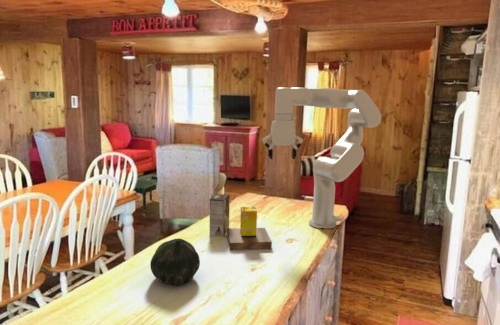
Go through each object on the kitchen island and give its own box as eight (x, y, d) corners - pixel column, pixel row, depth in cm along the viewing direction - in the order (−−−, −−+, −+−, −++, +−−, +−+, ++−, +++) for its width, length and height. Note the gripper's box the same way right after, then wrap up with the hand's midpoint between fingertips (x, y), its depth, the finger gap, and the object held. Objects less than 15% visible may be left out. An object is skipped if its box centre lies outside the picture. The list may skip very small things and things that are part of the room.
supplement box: (240, 232, 159) (240, 206, 157) (254, 232, 160) (255, 206, 158) (241, 237, 153) (241, 210, 151) (256, 237, 154) (257, 210, 152)
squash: (160, 250, 133) (153, 228, 122) (204, 253, 133) (200, 232, 121) (151, 291, 124) (142, 272, 113) (197, 294, 124) (193, 276, 112)
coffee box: (215, 228, 171) (215, 193, 169) (229, 230, 170) (230, 194, 167) (209, 236, 163) (209, 198, 160) (223, 237, 161) (224, 199, 159)
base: (264, 234, 166) (264, 227, 165) (271, 249, 150) (271, 241, 150) (227, 235, 164) (227, 228, 163) (230, 250, 148) (230, 242, 148)
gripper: (301, 117, 166) (299, 157, 169) (261, 116, 164) (260, 157, 167) (306, 118, 159) (304, 160, 162) (264, 118, 156) (263, 160, 159)
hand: (282, 158), depth 164 cm, fingers open, 9 cm apart
